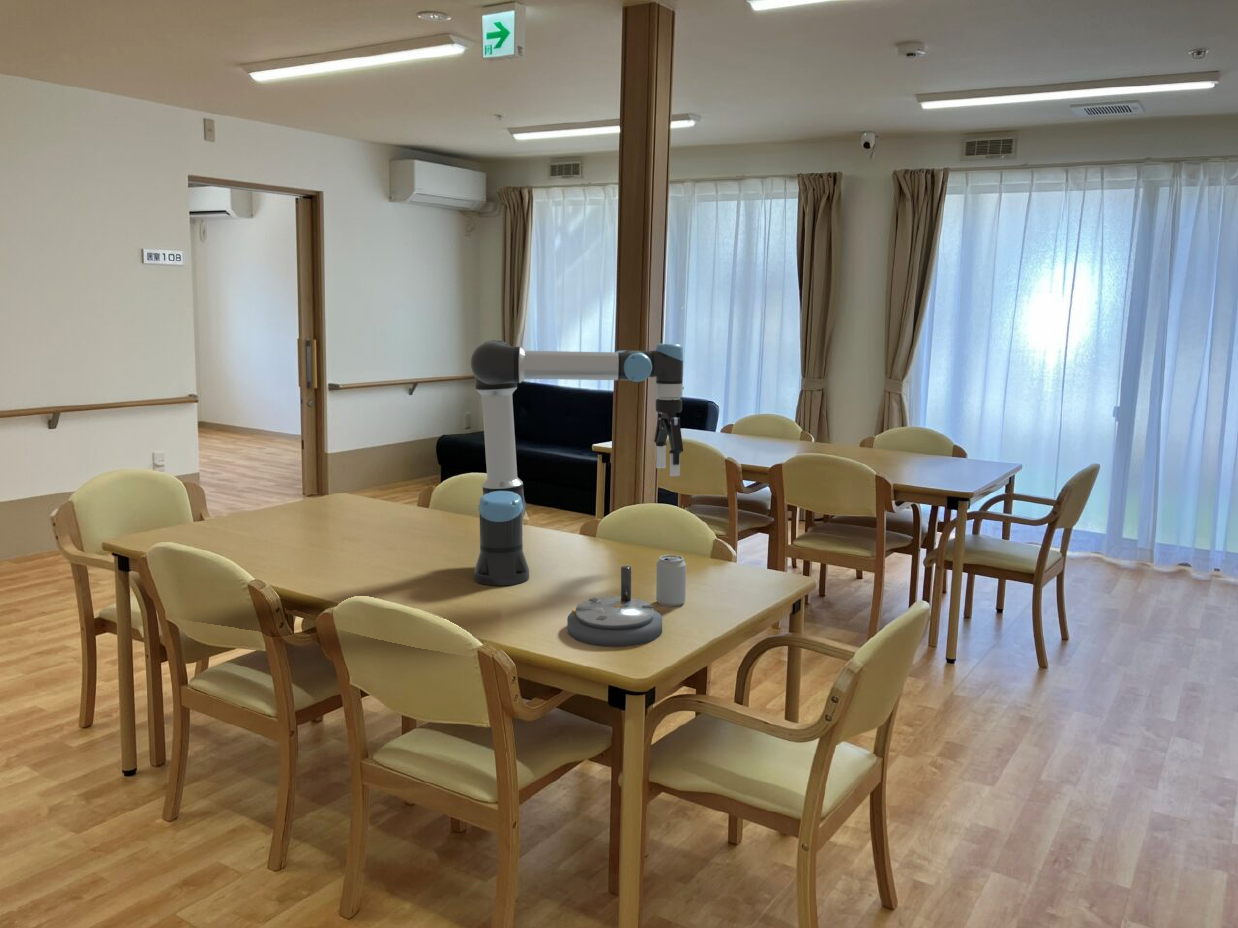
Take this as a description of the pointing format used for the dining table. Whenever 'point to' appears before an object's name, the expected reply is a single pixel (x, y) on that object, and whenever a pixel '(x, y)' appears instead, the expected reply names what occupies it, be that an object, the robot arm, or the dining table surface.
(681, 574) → the can
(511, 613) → the dining table surface
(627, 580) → the peg stand
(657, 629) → the base
